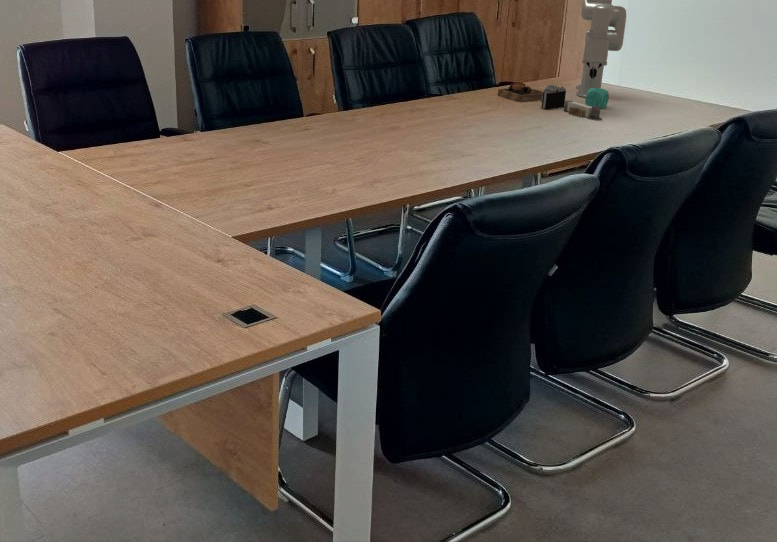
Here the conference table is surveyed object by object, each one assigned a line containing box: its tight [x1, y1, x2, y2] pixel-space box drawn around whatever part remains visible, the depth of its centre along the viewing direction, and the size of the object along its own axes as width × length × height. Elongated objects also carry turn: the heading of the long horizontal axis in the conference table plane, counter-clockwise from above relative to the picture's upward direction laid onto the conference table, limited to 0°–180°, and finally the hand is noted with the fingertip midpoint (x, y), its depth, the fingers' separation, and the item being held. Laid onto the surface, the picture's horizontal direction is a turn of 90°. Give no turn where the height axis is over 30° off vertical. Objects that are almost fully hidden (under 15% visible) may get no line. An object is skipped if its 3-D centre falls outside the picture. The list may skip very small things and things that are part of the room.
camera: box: [540, 84, 567, 111], centre depth 406 cm, size 15×7×10 cm, turn 135°
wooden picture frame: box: [497, 87, 544, 103], centre depth 425 cm, size 16×18×3 cm
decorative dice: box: [584, 88, 610, 110], centre depth 413 cm, size 8×8×8 cm
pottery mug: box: [508, 81, 532, 95], centre depth 423 cm, size 12×10×8 cm
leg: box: [563, 99, 592, 118], centre depth 396 cm, size 16×4×4 cm, turn 32°
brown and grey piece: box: [568, 106, 603, 121], centre depth 391 cm, size 15×7×5 cm, turn 33°
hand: (592, 78), depth 398 cm, fingers closed
